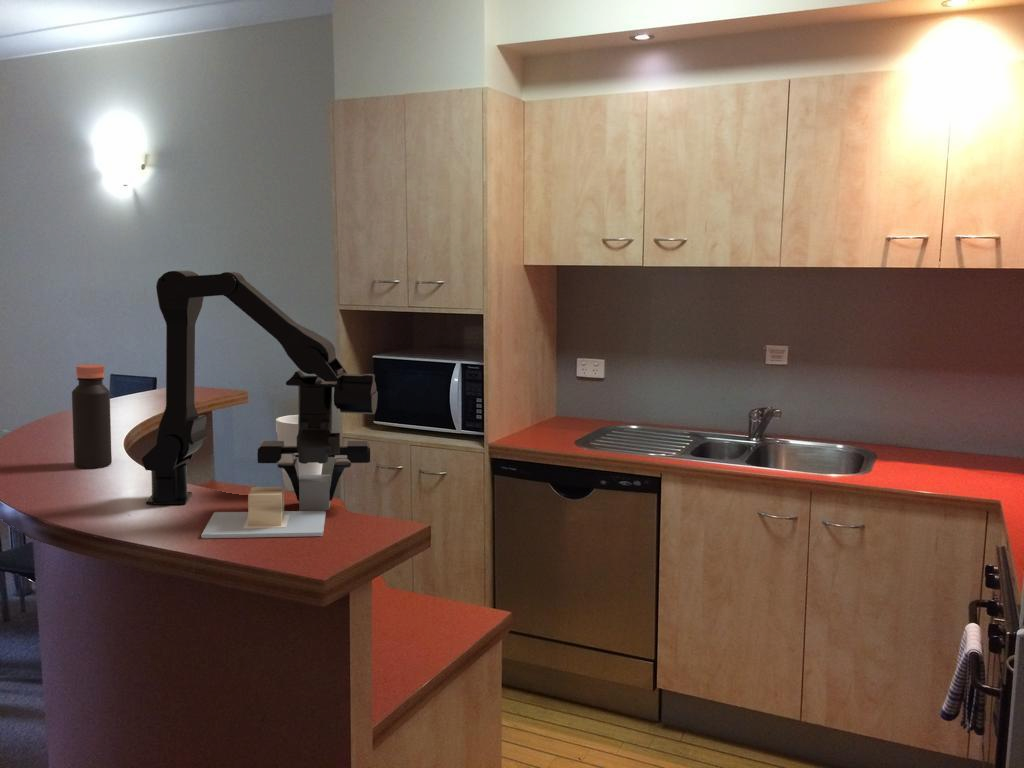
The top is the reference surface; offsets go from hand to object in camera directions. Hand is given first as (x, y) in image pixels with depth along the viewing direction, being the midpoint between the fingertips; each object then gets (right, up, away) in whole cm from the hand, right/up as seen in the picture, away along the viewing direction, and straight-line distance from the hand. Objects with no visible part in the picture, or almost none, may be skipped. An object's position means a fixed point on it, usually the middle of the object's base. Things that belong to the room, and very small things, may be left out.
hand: (315, 500), depth 153 cm
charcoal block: (0, -1, 0) cm, 1 cm away
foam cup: (-5, +1, +12) cm, 13 cm away
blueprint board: (-5, -3, -12) cm, 13 cm away
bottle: (-50, +4, +24) cm, 55 cm away
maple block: (-5, -2, -12) cm, 13 cm away
